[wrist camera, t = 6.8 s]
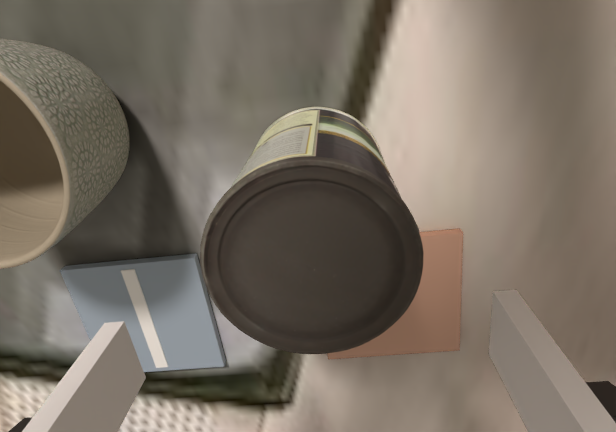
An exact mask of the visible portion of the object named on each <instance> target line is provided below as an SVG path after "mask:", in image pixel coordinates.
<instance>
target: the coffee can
mask: <svg viewBox="0 0 616 432" xmlns="http://www.w3.org/2000/svg"><path fill="white" fill-rule="evenodd" d="M423 254H424V252H423V245H422V241H421V237H420V233H419V229H418V227H417V225H416V222H415V220H414V218H413V216H412V214H411V213H410V211H409V209H408V208H407V206H406V204H405V203H404V202H403V201H402V199H401V197H400V194H399V192H398V190H397V188H396V186H395V184H394V181H393V180H392V178H391V175H390V173H389V171H388V169H387V167H386V165H385V162H384V160H383V158H382V155H381V152H380V149H379V146H378V144H377V142H376V140H375V139H374V137H373V135H372V134H371V133H370V131H369V130H368V129H367V128H366V127H365V126H364V125H363V124H362V123H361V122H359V121H358V120H357V119H355V118H354V117H352V116H351V115H349V114H346V113H344V112H342V111H339V110H336V109H331V108H326V107H308V108H303V109H299V110H295V111H293V112H290V113H288V114H286V115H284V116H283V117H281V118H279V119H278V120H276V121H275V122H274V123H273V124H272V125H270V126H269V127H268V129H267V130H266V131H265V132H264V134H263V135H262V136H261V138H260V140H259V141H258V143H257V146H256V148H255V150H254V151H253V153H252V155H251V156H250V158H249V159H248V161H247V163H246V164H245V166H244V167H243V169H242V171H241V172H240V174H239V176H238V177H237V179H236V180H235V182H234V183H233V185H232V186H231V188H230V189H229V190H228V191H227V192H226V193H225V194H224V196H223V197H222V198H221V199H220V201H219V202H218V203H217V205H216V206H215V208H214V210H213V211H212V213H211V214H210V216H209V218H208V220H207V223H206V225H205V228H204V232H203V236H202V240H201V248H200V263H201V271H202V275H203V279H204V282H205V285H206V288H207V290H208V292H209V294H210V296H211V298H212V300H213V301H214V303H215V305H216V306H217V307H218V309H219V310H220V312H221V313H222V314H223V315H224V316H225V317H226V318H227V319H228V320H229V321H230V322H231V323H232V324H233V325H234V326H236V327H237V328H238V329H239V330H241V331H242V332H244V333H245V334H247V335H248V336H250V337H252V338H253V339H255V340H257V341H259V342H261V343H263V344H265V345H267V346H270V347H273V348H276V349H280V350H284V351H288V352H293V353H300V354H325V353H334V352H340V351H345V350H349V349H352V348H355V347H358V346H360V345H363V344H365V343H367V342H369V341H371V340H372V339H374V338H376V337H378V336H379V335H381V334H382V333H384V332H385V331H386V330H387V329H389V328H390V327H391V326H392V325H393V324H394V323H395V322H397V321H398V320H399V319H400V317H401V316H402V315H403V314H404V313H405V312H406V310H407V309H408V308H409V306H410V304H411V303H412V301H413V299H414V297H415V295H416V293H417V290H418V287H419V284H420V281H421V276H422V270H423Z"/></svg>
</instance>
